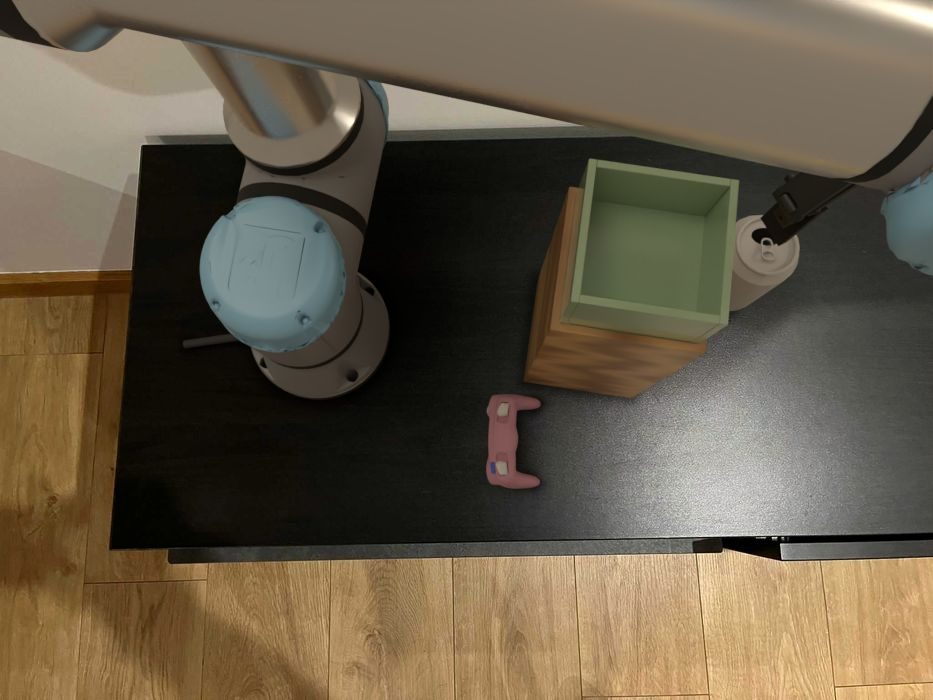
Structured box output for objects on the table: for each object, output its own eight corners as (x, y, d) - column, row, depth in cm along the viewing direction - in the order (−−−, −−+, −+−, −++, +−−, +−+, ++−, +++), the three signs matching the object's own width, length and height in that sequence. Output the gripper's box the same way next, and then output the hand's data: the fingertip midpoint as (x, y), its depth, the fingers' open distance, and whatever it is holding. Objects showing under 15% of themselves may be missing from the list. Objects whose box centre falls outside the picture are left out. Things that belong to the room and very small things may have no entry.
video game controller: (505, 399, 78) (478, 389, 72) (543, 397, 76) (519, 387, 70) (503, 489, 76) (475, 487, 70) (543, 490, 74) (518, 488, 67)
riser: (523, 381, 77) (550, 329, 53) (537, 279, 79) (569, 186, 56) (631, 398, 76) (706, 353, 53) (642, 294, 79) (718, 208, 55)
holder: (558, 323, 53) (570, 301, 47) (575, 194, 56) (589, 157, 50) (698, 344, 53) (728, 325, 47) (710, 213, 55) (739, 179, 49)
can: (756, 254, 80) (807, 211, 68) (756, 316, 78) (807, 284, 67) (691, 247, 80) (731, 204, 68) (689, 310, 78) (729, 276, 67)
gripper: (906, 178, 34) (737, 301, 54) (1304, -23, 36) (997, 168, 57) (821, 55, 35) (688, 221, 56) (1209, -130, 37) (943, 94, 58)
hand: (843, 194), depth 56 cm, fingers open, 13 cm apart
